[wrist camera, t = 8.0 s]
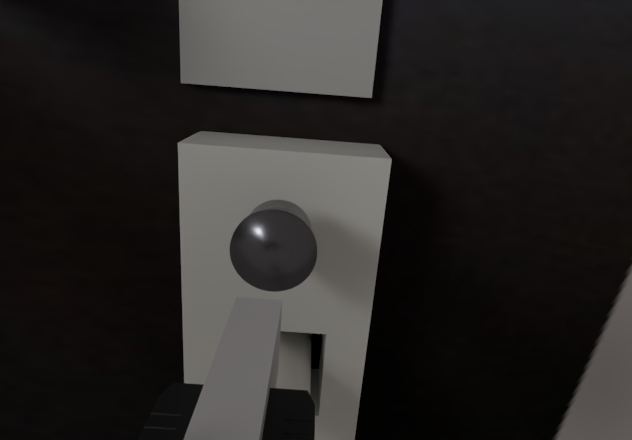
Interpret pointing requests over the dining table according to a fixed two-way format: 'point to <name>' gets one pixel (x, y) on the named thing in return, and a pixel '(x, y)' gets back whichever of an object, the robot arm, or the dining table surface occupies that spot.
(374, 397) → the dining table surface
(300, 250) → the plunger
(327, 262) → the housing
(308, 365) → the cartridge
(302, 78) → the mat
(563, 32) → the dining table surface
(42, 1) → the dining table surface
